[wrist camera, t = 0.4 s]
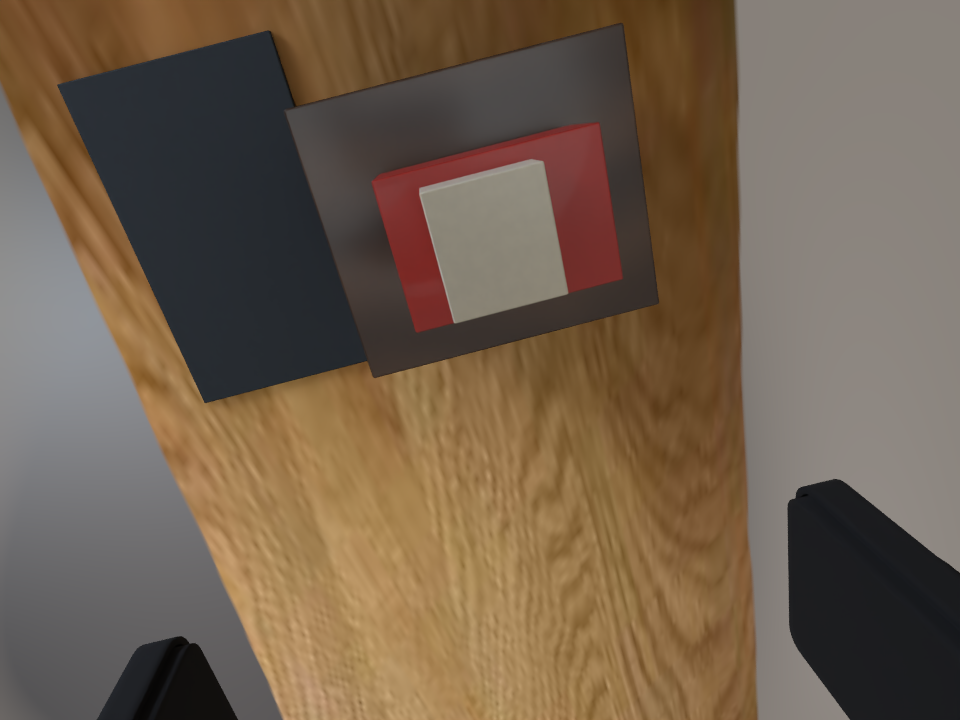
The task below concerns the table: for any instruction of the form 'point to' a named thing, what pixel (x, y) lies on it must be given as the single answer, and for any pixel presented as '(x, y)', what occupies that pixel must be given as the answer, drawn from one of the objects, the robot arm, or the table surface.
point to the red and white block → (501, 225)
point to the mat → (220, 212)
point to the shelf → (456, 129)
